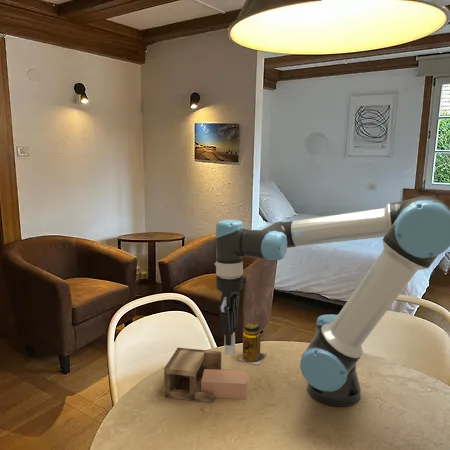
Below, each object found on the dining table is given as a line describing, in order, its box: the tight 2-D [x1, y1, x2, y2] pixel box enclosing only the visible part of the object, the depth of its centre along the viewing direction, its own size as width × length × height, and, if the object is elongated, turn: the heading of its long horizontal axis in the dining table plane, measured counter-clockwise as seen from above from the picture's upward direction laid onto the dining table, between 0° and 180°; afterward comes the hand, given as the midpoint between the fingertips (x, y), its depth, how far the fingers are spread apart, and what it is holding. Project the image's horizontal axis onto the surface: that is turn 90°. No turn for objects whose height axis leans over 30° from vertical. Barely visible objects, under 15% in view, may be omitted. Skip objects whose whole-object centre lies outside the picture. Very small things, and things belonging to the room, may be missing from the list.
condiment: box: [238, 322, 268, 365], centre depth 143 cm, size 7×8×12 cm
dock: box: [163, 347, 222, 404], centre depth 125 cm, size 14×13×9 cm
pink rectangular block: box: [200, 369, 248, 400], centre depth 123 cm, size 13×7×5 cm, turn 85°
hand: (229, 353), depth 121 cm, fingers closed
